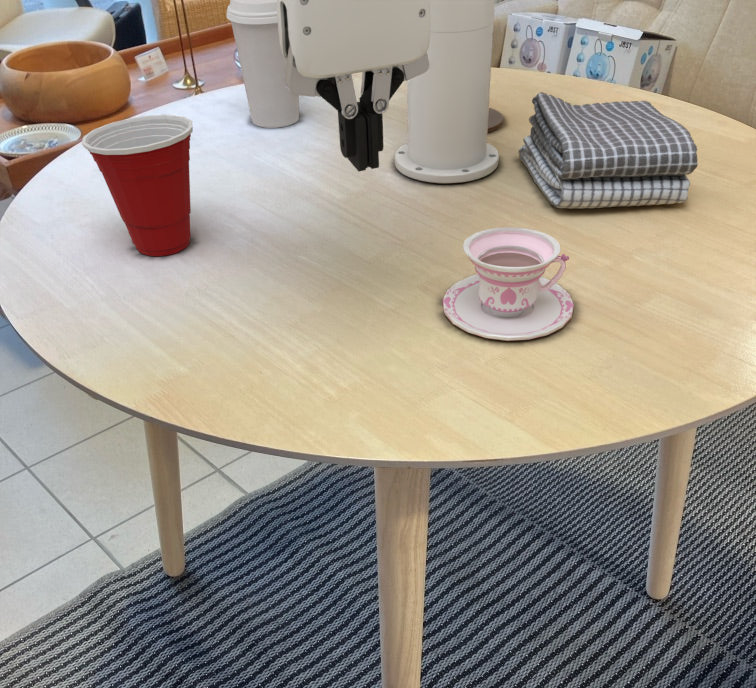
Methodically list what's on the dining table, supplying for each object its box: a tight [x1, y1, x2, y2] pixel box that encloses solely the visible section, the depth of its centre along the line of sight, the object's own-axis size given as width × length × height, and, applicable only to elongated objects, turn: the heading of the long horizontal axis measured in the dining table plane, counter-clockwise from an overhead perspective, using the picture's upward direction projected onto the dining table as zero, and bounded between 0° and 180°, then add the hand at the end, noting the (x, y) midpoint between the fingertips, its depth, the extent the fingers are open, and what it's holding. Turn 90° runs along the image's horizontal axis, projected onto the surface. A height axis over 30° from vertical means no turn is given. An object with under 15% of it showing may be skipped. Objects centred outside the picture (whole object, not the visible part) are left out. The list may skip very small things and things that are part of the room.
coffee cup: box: [225, 0, 300, 129], centre depth 112 cm, size 10×10×15 cm
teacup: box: [442, 226, 575, 342], centre depth 77 cm, size 12×12×6 cm
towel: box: [518, 91, 699, 209], centre depth 96 cm, size 15×18×8 cm
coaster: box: [487, 107, 504, 134], centre depth 114 cm, size 10×10×1 cm
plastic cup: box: [81, 114, 194, 257], centre depth 87 cm, size 11×11×12 cm
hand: (362, 162), depth 66 cm, fingers closed
